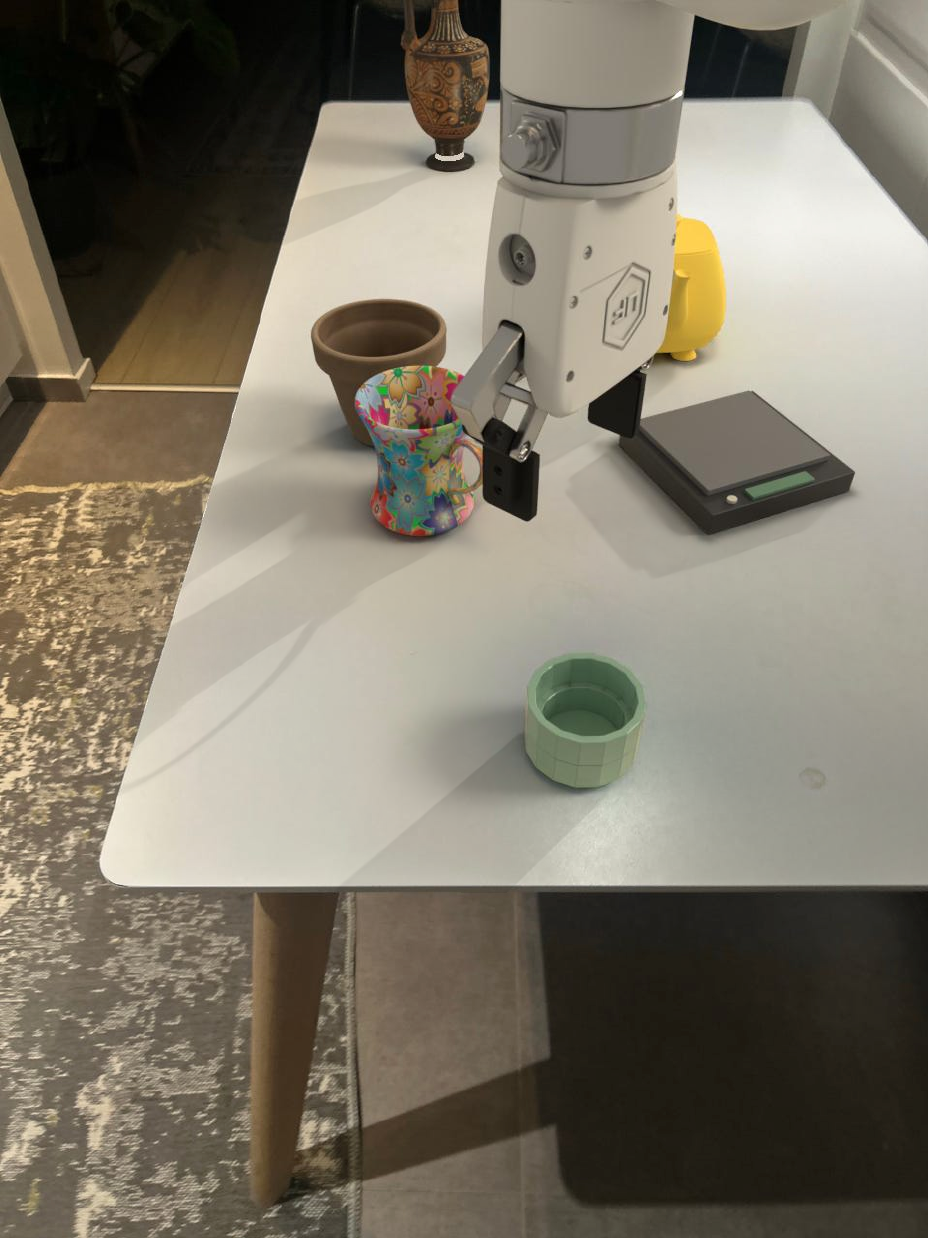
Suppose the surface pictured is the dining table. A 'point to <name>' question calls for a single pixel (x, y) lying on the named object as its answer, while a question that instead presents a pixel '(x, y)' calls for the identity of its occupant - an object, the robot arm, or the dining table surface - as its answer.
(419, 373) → the mug
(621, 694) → the bowl
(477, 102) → the vase
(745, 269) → the dining table surface
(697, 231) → the teapot
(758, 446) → the scale
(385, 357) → the flower pot
